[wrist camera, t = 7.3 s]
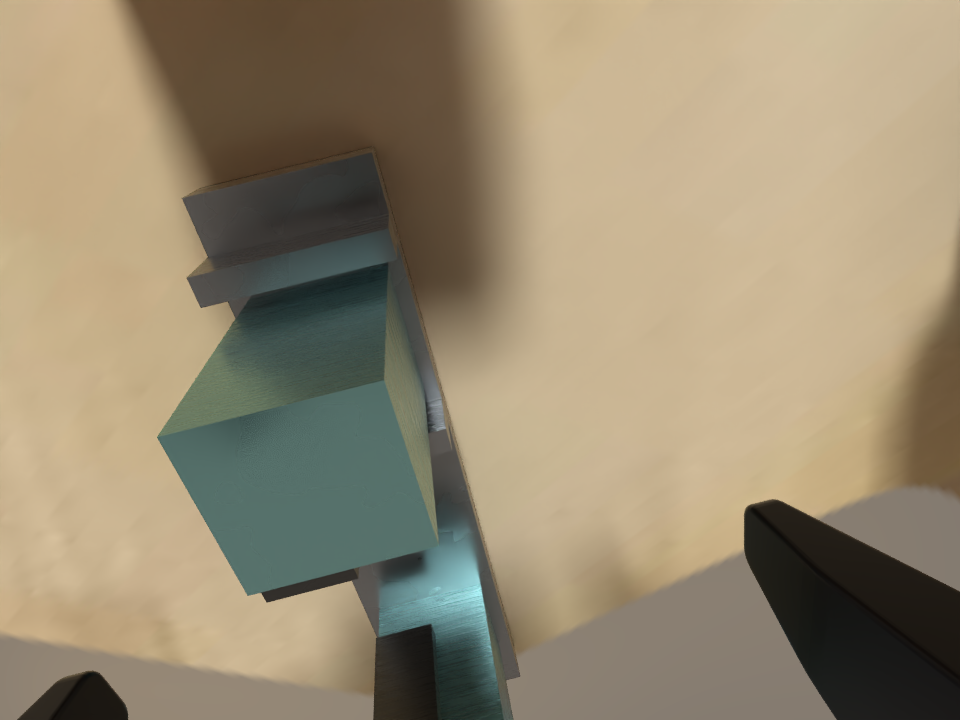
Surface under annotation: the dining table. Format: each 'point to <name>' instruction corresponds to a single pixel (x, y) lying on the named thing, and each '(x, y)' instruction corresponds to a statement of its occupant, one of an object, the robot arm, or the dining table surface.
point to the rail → (462, 551)
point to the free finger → (310, 437)
